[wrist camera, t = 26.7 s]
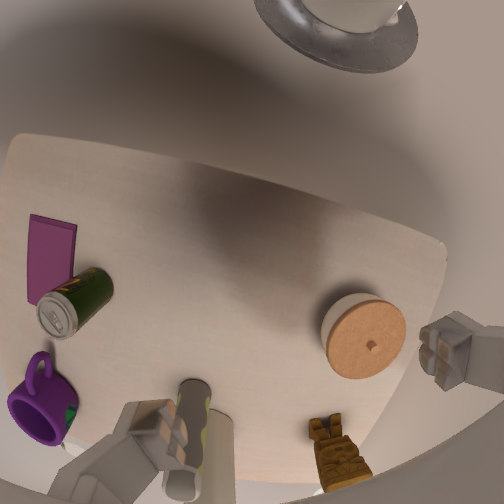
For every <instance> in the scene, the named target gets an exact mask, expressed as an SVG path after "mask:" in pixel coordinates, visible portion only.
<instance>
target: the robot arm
mask: <svg viewBox="0 0 504 504" xmlns="http://www.w3.org/2000/svg"><path fill="white" fill-rule="evenodd" d="M406 1H407V0H301V2H302V4H303V5H304V6H305V7H306V9H307V10H308V11H309V12H310V13H312V14H313V15H314V16H315V17H317V18H318V19H319V20H321V21H323V22H324V23H326V24H328V25H330V26H332V27H334V28H337V29H340V30H343V31H346V32H351V33H370V32H373V31H375V30H377V29H379V28H380V27H383V26H395V25H396V24H397V23H398V16H397V11H398V10H399V9H400V8H401V7H402V5H403V4H404V3H405V2H406ZM419 339H420V340H421V341H422V343H423V344H422V345H421V347H420V349H419V361H420V364H421V367H422V368H423V370H424V371H425V372H426V373H427V374H428V375H432V376H435V382H436V383H437V384H438V385H439V386H440V387H441V388H442V389H443V390H444V391H445V392H446V391H448V390H449V389H451V388H453V387H455V386H457V385H458V384H460V383H462V382H464V381H465V383H469V384H472V385H475V386H478V387H481V388H485V389H488V390H491V391H495V392H498V393H502V394H504V327H500V326H487V327H484V326H482V325H481V324H479V323H477V322H475V321H474V320H472V319H471V318H469V317H467V316H466V315H464V314H462V313H460V312H459V311H454V312H452V313H450V314H448V315H446V316H445V317H443V318H441V319H439V320H437V321H435V322H433V323H431V324H429V325H427V326H424V327H422V328H421V330H420V335H419ZM176 409H177V408H176V406H175V404H174V402H173V401H172V400H171V399H160V400H149V401H138V402H128V403H127V404H125V406H124V408H123V411H122V413H121V415H120V417H119V420H118V422H117V424H116V427H115V429H114V431H113V433H112V434H108V435H107V436H105V437H104V438H103V439H101V440H100V441H99V442H97V443H96V444H95V445H93V446H92V447H91V448H89V449H88V450H86V451H85V452H84V453H82V454H81V455H79V456H78V457H77V458H75V459H74V460H72V461H71V462H69V463H68V464H67V465H65V466H64V467H62V468H61V469H59V471H58V473H57V475H56V477H55V479H54V481H53V483H52V485H51V488H50V490H49V492H48V494H47V495H45V494H42V493H39V492H35V491H32V490H29V489H26V488H23V487H21V486H18V485H15V484H13V483H10V482H8V481H5V480H3V479H0V504H133V503H134V501H135V500H136V499H137V498H138V497H139V496H140V494H141V493H142V492H143V491H144V490H145V489H146V487H147V486H148V485H149V484H150V483H151V482H152V480H153V479H154V478H155V477H156V476H157V474H158V473H159V471H170V470H183V469H184V464H185V457H186V454H185V452H184V450H183V448H184V447H185V446H186V445H187V442H188V433H187V428H186V425H185V422H184V421H183V419H182V417H180V416H178V415H177V414H176ZM282 504H504V400H503V401H502V402H501V403H500V404H498V405H497V406H496V407H495V408H493V409H492V410H491V411H489V412H488V413H486V414H485V415H484V416H483V417H481V418H480V419H478V420H477V421H475V422H474V423H472V424H471V425H470V426H468V427H467V428H465V429H464V430H462V431H460V432H459V433H457V434H456V435H454V436H452V437H451V438H449V439H448V440H446V441H444V442H443V443H441V444H439V445H437V446H436V447H434V448H432V449H430V450H428V451H427V452H425V453H423V454H421V455H419V456H417V457H415V458H413V459H411V460H409V461H407V462H405V463H403V464H401V465H399V466H396V467H394V468H392V469H390V470H388V471H385V472H383V473H380V474H378V475H376V476H373V477H370V478H368V479H365V480H363V481H360V482H357V483H354V484H352V485H349V486H346V487H343V488H340V489H336V490H333V491H330V492H327V493H323V494H320V495H316V496H312V497H308V498H304V499H301V500H296V501H292V502H287V503H282Z"/></svg>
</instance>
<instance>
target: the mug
mask: <svg viewBox="0 0 504 504" xmlns="http://www.w3.org/2000/svg"><path fill="white" fill-rule="evenodd" d="M41 360H44V362H45V370H39V371H36V369H37V366H38V364H39V362H40V361H41ZM35 371H36V372H35ZM7 404H8V408H9V411H10V414H11V415H12V417H13V419H14V420H15V422H16V423H17V424H18V425H19V427H20V428H21V429H22V430H23V431H24V432H25V433H27V434H28V435H29V436H30V437H32V438H33V439H35V440H36V441H38V442H40V443H42V444H44V445H48V446H57V445H60V444H61V442H62V441H63V438H64V437H65V435H66V434H67V432H68V430H69V428H70V426H71V424H72V422H73V420H74V418H75V416H76V413H77V409H78V402H77V397H76V395H75V393H74V391H73V390H72V388H71V387H70V386H69V385H68V383H67V382H66V381H65V380H63V379H62V378H61V377H60V376H58V375H57V374H55V373H53V372H52V359H51V357H50V355H49V353H48V352H45V351H40V352H37V353H36V354H34V355H33V357H32V358H31V360H30V363H29V365H28V368H27V371H26V377H25V380H24V381H23V382H22V383H21V384H20V385H18V386H17V387H16V388H15V389H14V390H13V392H12V393H11V394H10V395H9V396H8V400H7Z"/></svg>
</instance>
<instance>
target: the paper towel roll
mask: <svg viewBox="0 0 504 504" xmlns="http://www.w3.org/2000/svg"><path fill="white" fill-rule="evenodd" d="M184 504H236V497H235V468H234V434H233V423H232V420H231V419H230V418H229V417H228V416H226V415H224V414H222V413H220V412H217V411H215V410H209V412H208V421H207V431H206V440H205V450H204V460H203V471H202V485H201V494H200V496H199V497H198V498H197V499H196V500H195V501H192V502H184Z"/></svg>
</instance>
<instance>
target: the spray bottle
mask: <svg viewBox="0 0 504 504" xmlns="http://www.w3.org/2000/svg"><path fill="white" fill-rule="evenodd" d="M210 401H211V391H210V388H209V387H208V386H207V385H206V384H205V383H203V382H201V381H198V380H189V381H186V382H184V383H183V384H182V385H181V386H180V388H179V392H178V401H177V406H176V408H177V409H176V414H177V415H178V416H180V417H182V419H183V421H184V422H185V425H186V428H187V433H188V442H187V445H186V446H185V447H184V448H183V450H184V452H185V454H186V457H185V464H184V469H183V470H170V471H164V474H163V482H162V490H163V492H164V493H165V495H166V496H167V497H168V498H170V499H172V500H175V501H178V502H192V501H195V500H196V499H197V498H198V497H199V496H200V494H201V485H202V471H203V460H204V450H205V440H206V431H207V421H208V412H209V404H210Z"/></svg>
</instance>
